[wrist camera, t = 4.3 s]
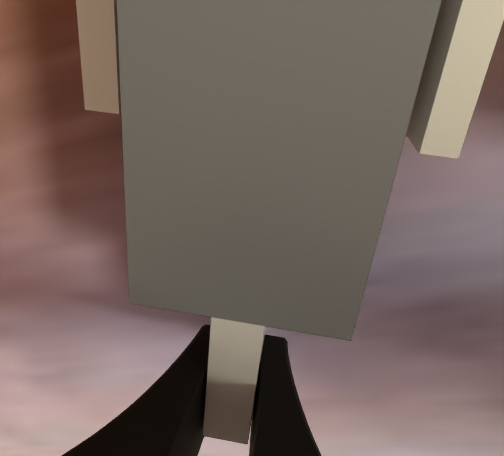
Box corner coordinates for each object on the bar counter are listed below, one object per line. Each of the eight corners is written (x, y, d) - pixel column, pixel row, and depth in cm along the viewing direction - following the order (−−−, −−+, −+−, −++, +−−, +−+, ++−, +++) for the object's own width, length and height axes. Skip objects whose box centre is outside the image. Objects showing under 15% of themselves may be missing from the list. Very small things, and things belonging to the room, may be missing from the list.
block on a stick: (319, 350, 15) (319, 458, 11) (176, 326, 15) (134, 422, 12) (414, -71, 9) (473, -120, 6) (187, -93, 10) (110, -151, 6)
